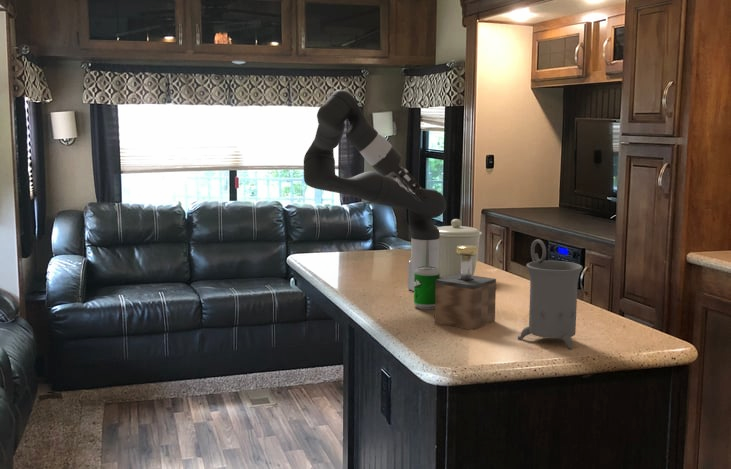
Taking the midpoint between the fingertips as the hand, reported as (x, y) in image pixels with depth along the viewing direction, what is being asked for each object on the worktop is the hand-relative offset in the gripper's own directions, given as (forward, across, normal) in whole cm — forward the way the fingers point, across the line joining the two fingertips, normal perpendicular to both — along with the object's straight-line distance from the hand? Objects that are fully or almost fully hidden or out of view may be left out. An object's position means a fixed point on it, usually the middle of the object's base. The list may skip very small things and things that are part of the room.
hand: (424, 199), depth 210 cm
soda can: (+29, -19, -20) cm, 40 cm away
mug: (+44, +21, -5) cm, 49 cm away
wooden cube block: (+33, 0, -15) cm, 36 cm away
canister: (+44, -60, -4) cm, 75 cm away
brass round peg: (+26, 0, -9) cm, 28 cm away
